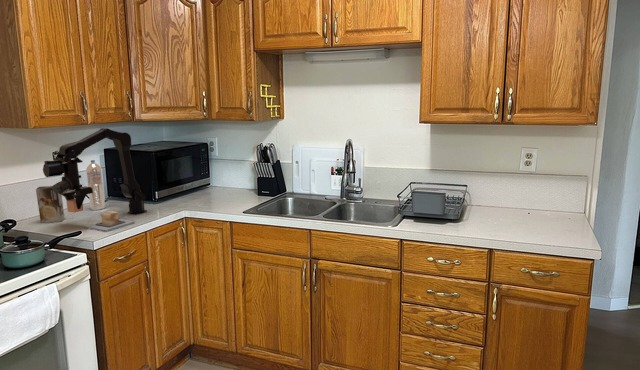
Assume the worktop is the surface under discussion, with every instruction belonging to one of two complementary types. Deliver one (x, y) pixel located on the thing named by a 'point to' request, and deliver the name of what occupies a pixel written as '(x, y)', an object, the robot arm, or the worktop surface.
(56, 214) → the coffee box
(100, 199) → the water bottle
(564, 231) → the worktop surface
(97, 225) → the grey flat square plate
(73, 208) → the terracotta block
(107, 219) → the oak cube
